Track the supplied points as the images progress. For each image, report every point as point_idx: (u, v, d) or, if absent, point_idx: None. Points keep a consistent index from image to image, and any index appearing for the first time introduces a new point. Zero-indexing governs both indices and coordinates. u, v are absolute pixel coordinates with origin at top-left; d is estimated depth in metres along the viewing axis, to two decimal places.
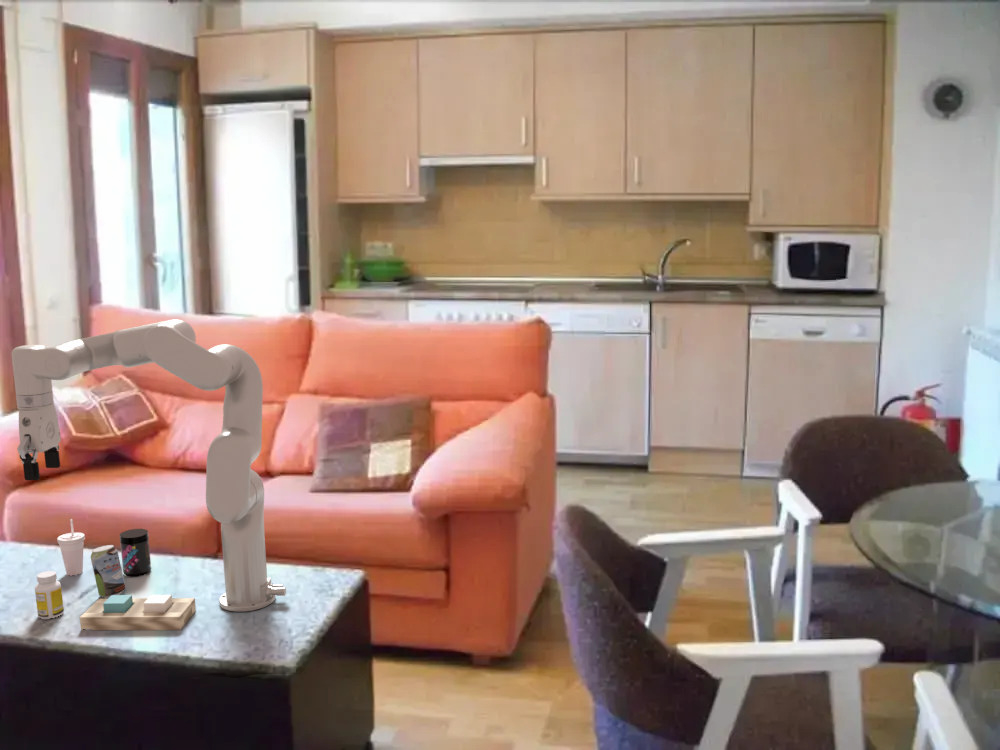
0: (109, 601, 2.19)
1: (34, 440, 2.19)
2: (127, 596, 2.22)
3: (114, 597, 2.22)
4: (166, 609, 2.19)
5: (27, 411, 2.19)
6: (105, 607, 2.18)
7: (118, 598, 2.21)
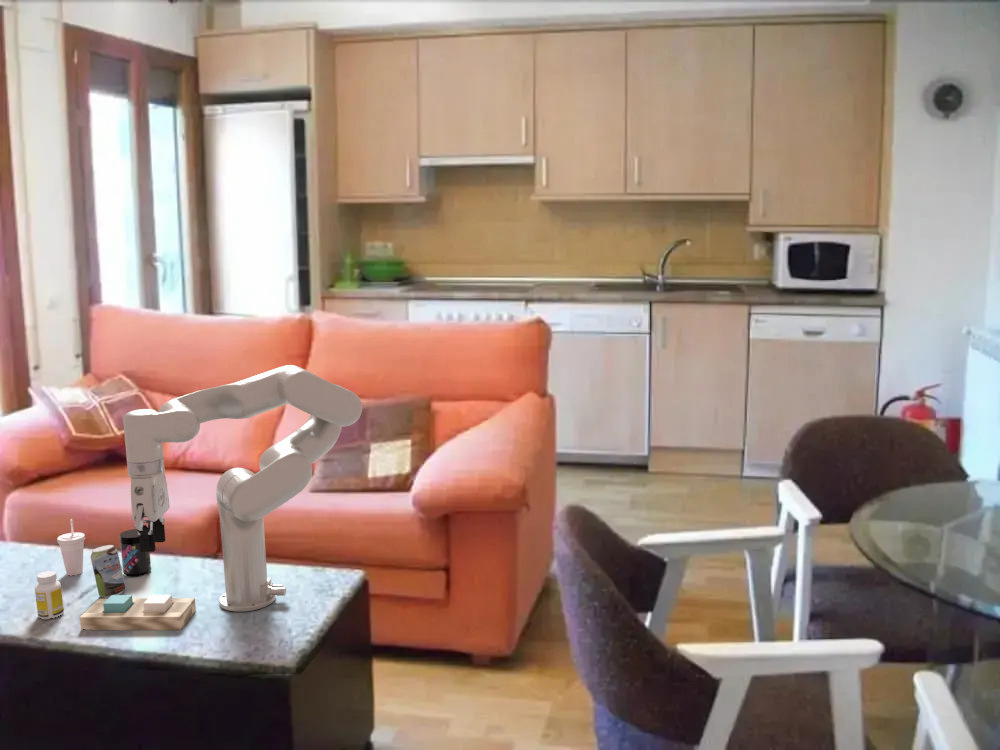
0: (109, 601, 2.19)
1: (147, 509, 2.11)
2: (127, 596, 2.22)
3: (114, 597, 2.22)
4: (166, 609, 2.19)
5: (140, 479, 2.10)
6: (105, 607, 2.18)
7: (118, 598, 2.21)
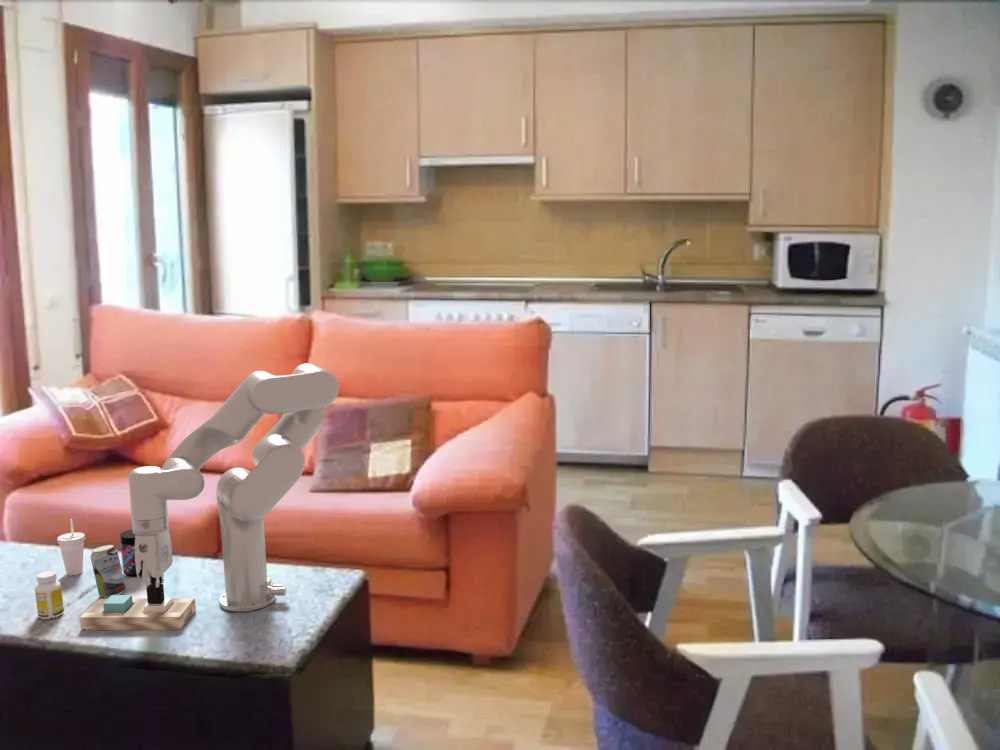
0: (109, 601, 2.19)
1: (151, 566, 2.13)
2: (127, 596, 2.22)
3: (114, 597, 2.22)
4: None
5: (144, 537, 2.13)
6: (105, 607, 2.18)
7: (118, 598, 2.21)
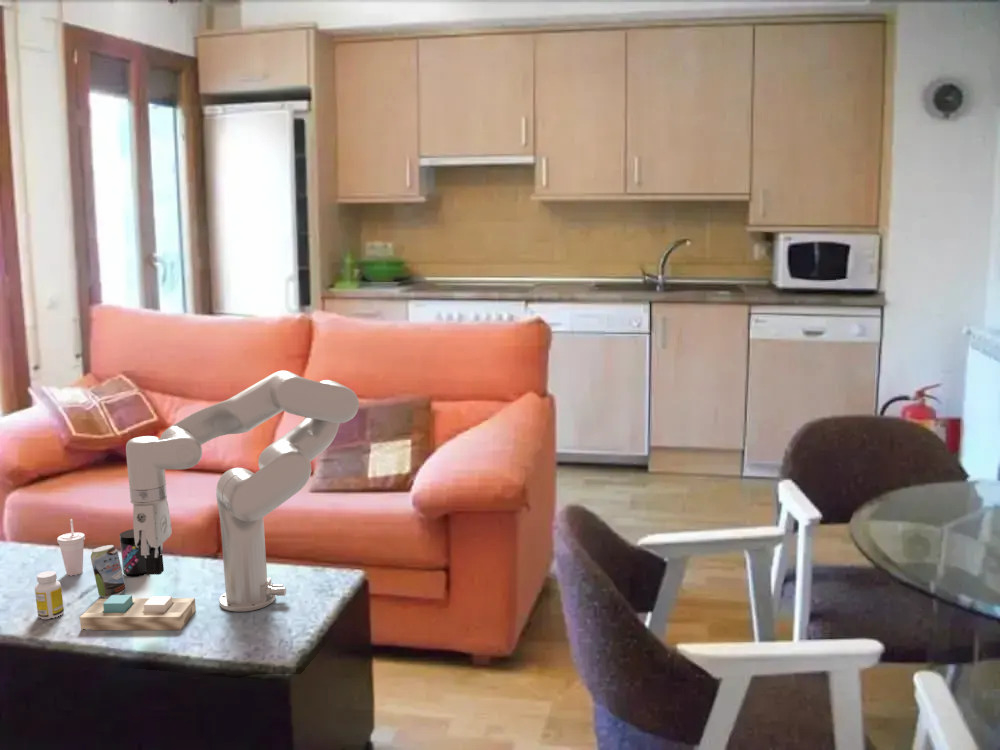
0: (109, 601, 2.19)
1: (149, 536, 2.12)
2: (127, 596, 2.22)
3: (114, 597, 2.22)
4: (166, 611, 2.19)
5: (142, 506, 2.12)
6: (105, 607, 2.18)
7: (118, 598, 2.21)
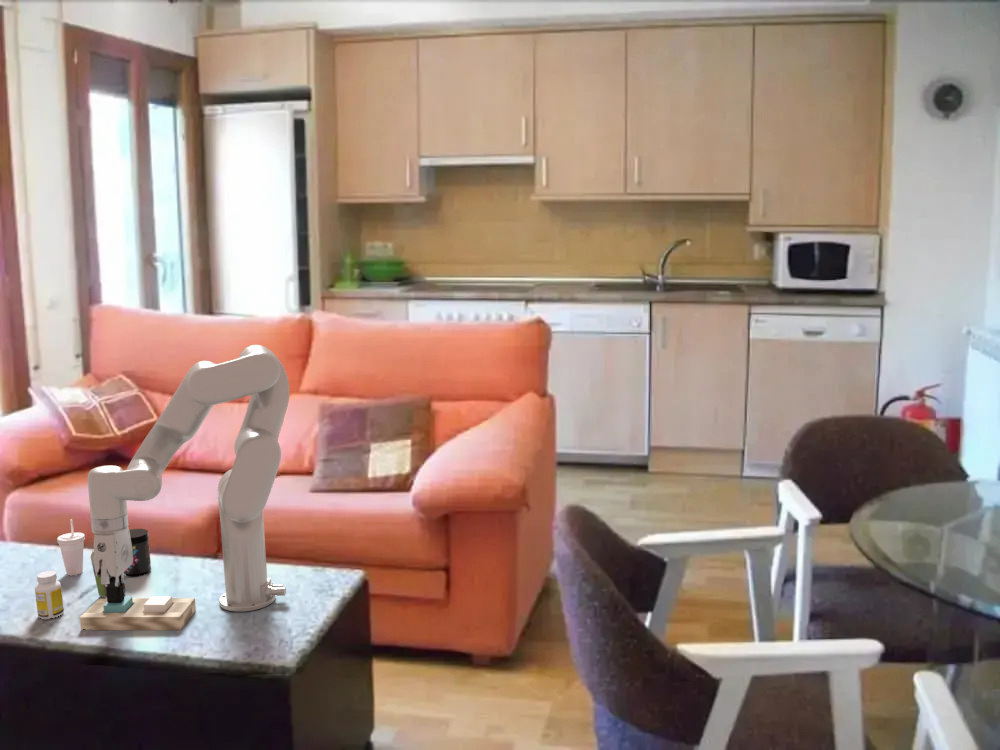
0: (109, 603, 2.19)
1: (109, 565, 2.13)
2: (127, 598, 2.22)
3: None
4: (166, 611, 2.19)
5: (103, 536, 2.13)
6: (105, 609, 2.18)
7: None
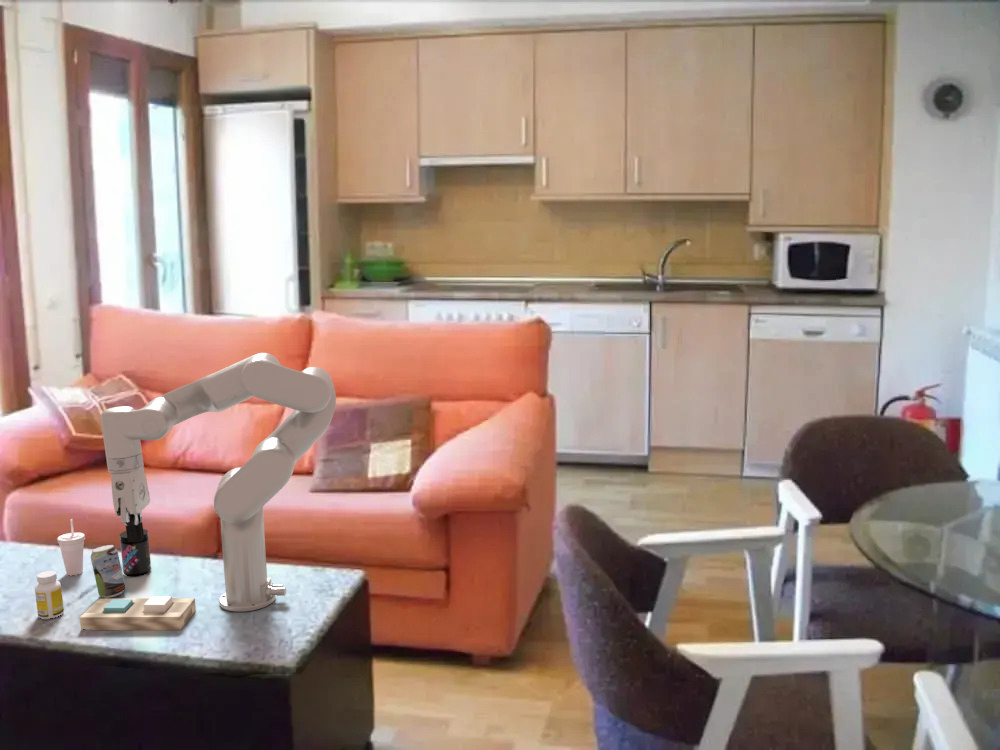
0: (109, 606, 2.19)
1: (128, 503, 2.17)
2: (127, 600, 2.22)
3: (115, 601, 2.22)
4: (166, 611, 2.19)
5: (120, 474, 2.16)
6: (105, 612, 2.19)
7: (119, 602, 2.21)
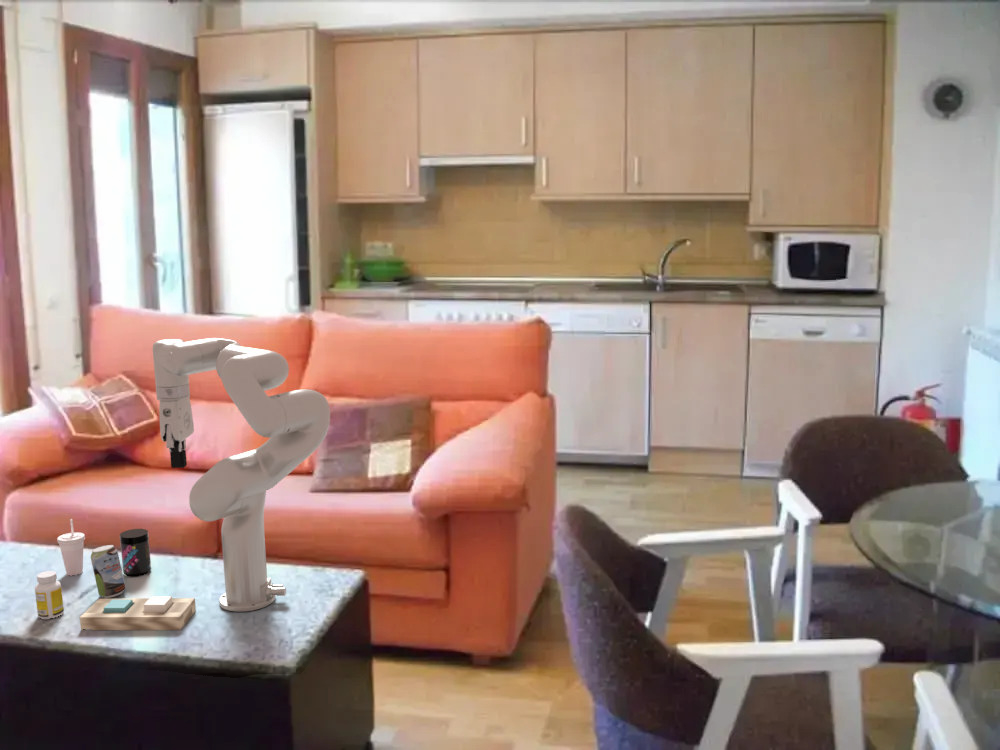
0: (109, 606, 2.19)
1: (174, 430, 2.30)
2: (127, 600, 2.22)
3: (115, 601, 2.22)
4: (166, 611, 2.19)
5: (168, 402, 2.30)
6: (105, 612, 2.19)
7: (119, 602, 2.21)
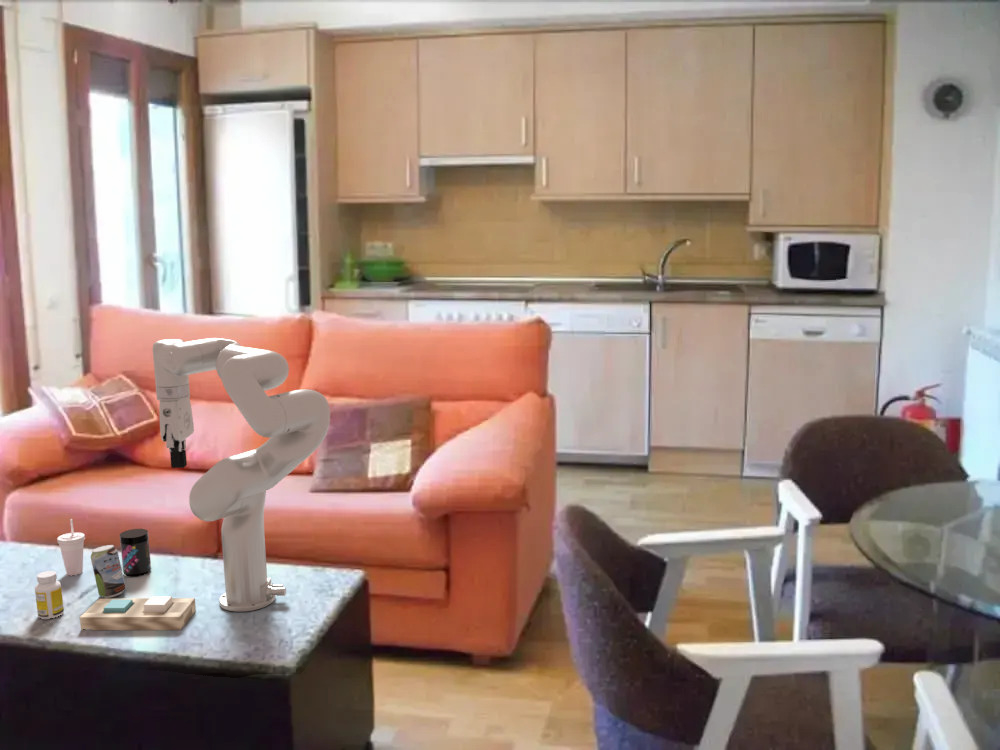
0: (109, 606, 2.19)
1: (174, 430, 2.30)
2: (127, 600, 2.22)
3: (115, 601, 2.22)
4: (166, 611, 2.19)
5: (168, 402, 2.30)
6: (105, 612, 2.19)
7: (119, 602, 2.21)
